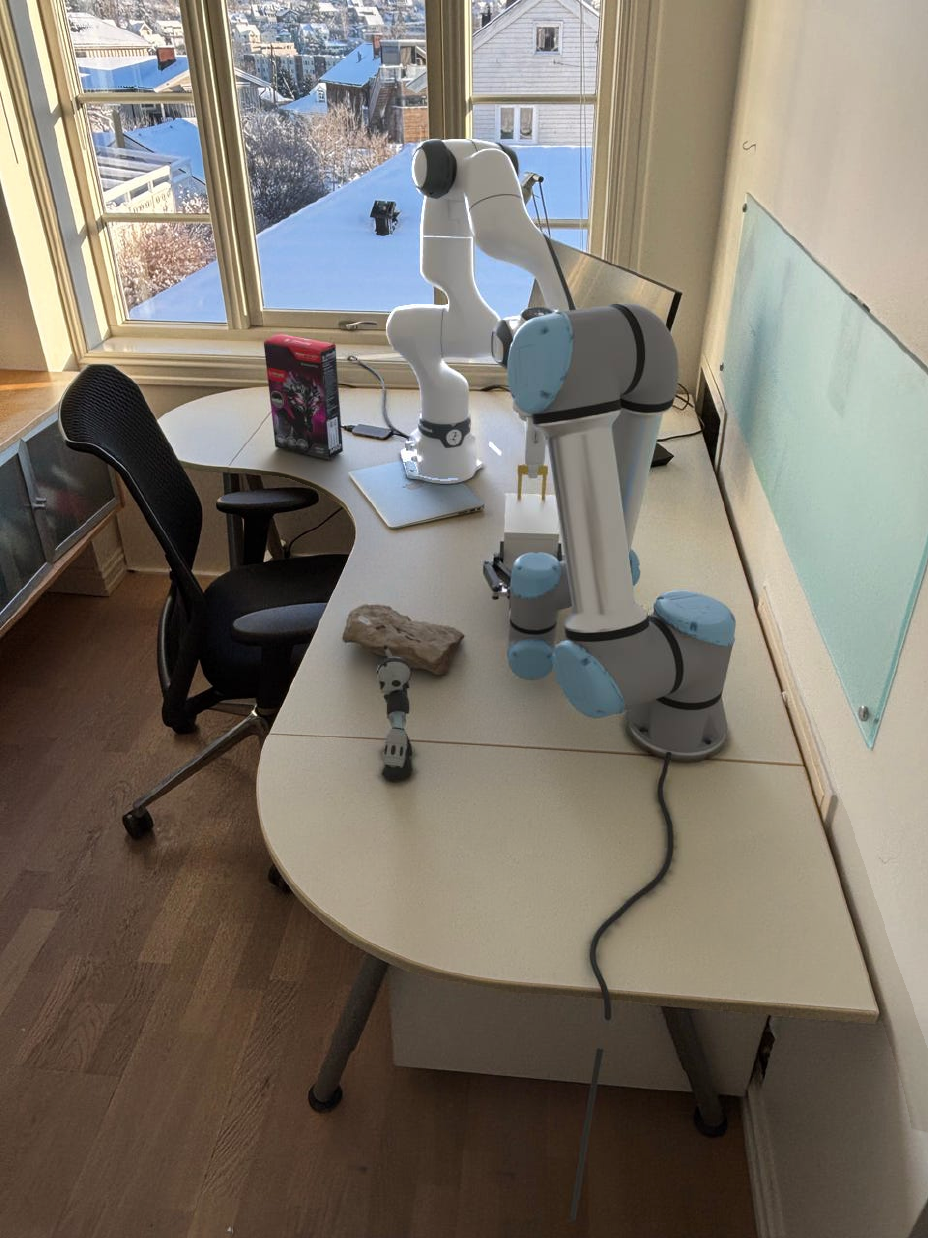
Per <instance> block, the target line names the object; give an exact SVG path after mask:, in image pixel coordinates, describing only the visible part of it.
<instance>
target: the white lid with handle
mask: <svg viewBox="0 0 928 1238" xmlns="http://www.w3.org/2000/svg"><path fill="white" fill-rule="evenodd" d="M528 472H529V466H527V465H526V464H525V463H523V464H521V463H518V464H517V475H518V476H517V492H516V493H514V492H513V493H510V492H506V493H505V504H504V525H503V526H504V529H503V530H504V531H503V539H504V538H514V539H544V540H560V524H559V516H558V509H557V503H556V496H555V494H547V493H546V492H547V491H546V490H547V476H548V472H549V465H548V464H544V465H543V466H539V469H538V476H542V480H541V481H542V482H541V483H542V484H541V493H522V480H523V476H528Z"/></svg>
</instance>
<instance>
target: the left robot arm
mask: <svg viewBox="0 0 928 1238" xmlns="http://www.w3.org/2000/svg"><path fill="white" fill-rule="evenodd" d="M520 169H521V167H520V161H519V157H518V155H517V153H516V151H515V150H514V149H513V147H511V146H509V145H508V144H505V143H501V142H498V141H495V142H490V141H486V140H481V139H474V138H465V139H443V140H442V139H440V138H432V139H428V140H424V141H422V142H420V143H419V145H418V146H417V148H416V149H415V151H414V153H413V157H412V161H411V176H412V181H413V185H414V188H416V191H418V193H419V194H421V195H422V196H424V199H423V204H422V209H421V210H422V212H421V218H420V219H421V220H420V221H421V222H420V251H419V253H420V255H419V259H420V260H419V262H420V264H419V265H420V266H419V267H420V269H419V270H420V274H421V276H422V277H423V279H424V280H425V281H426V282H427V283H428V284H430V285H431V286H433V287H435V288H436V289H438V290H440V291H442V292H443V293H444V294H445V296H446V298H447V302H448V303H447V304H443V305H441V304H439V305H438V304H422V303H421V304H420V303H417V304H409V305H402V306H397V307H395V308H394V309H393V311H391V313H390V314H389V316H388V318H387V321H386V326H385V334H386V338H387V341H388V344H389V345H390V347H391V348H392V349H393V351H395V352H396V353H397V354H398V355H400V357H402V358H403V359H404V361H406V362H407V364H408V365H409V366H410V368H411V369H412V371H413V372H414V375H415V377H416V380H417V384H418V388H419V396H420V397H419V398H420V399H419V400H420V411H419V412H420V414H419V418H418V420H417V428H416V429H414V430H413V431H412V432H411V433H410V434H409V435H407V434H406V433H404V432H402V431H401V430H399V429H397V428H396V427H395V426H394V425H393V424H392V422H391V421H390V419H389V417H388V416H387V412H386V383H385V381H384V379H383V377H382V376H381V374H379V372H377V371H376V369H374V368H372V367H371V366H369V365H368V364H367V363H365V362H363V361H362V360H361V359H359V358H358V357H356V356H355V355H352V354H349V355H348V356H347V357H346V360H350V359H354V360H355V359H359V361H357V362H358V363H359V364H360V365H361V366H363V367H365V368H366V369H368V370H369V371H371V372H373V373H374V375H376V376H377V377H378V379H379V381H380V382H381V385H382V401H381V402H382V403H381V407H382V414H383V417H384V420H385V421H386V423H387V425H388V426H389V428H390V429H391V430H392V431H394V432H396V433H397V434H399V435H400V436H402V437H404V438H406V439H409V441H405V443H404V449H401V450H400V457H401V461H402V464H403V468H404V470H405V474H406V476H407V478H408V479H411V480H420V481H424V482H428V483H433V484H439V485H440V484H441V485H448V484H451V485H452V484H458V483H463V482H465V481H468V480H469V479H472V477H474V476H475V473H476V472H477V471H478V470H480V469H481V468H483V462H482V461H481V460H479V459H478V458H477V439H476V435H475V434H473V432H471V426H472V419H471V414H470V385H469V383H468V381H467V379H466V378H465V377H464V376H463V375H462V374H461V373H460V372H458V371H456V370H455V369H453V368H451V367H449V365H447V363H446V362H445V361H444V358H448V359H467V360H468V359H469V360H473V359H480V358H486V357H487V358H488V357H492V359H493V360H494V361H495V362H496V364H498V365H499V366H500V367H501V368H503V369H505V370H506V371H507V364H508V355H509V350H510V346H511V344H512V342H513V339H514V336H515V334H516V332H517V331H518V330H519V328H520V327H521V326H522V325H523V324H524V323H525V322H527V321H528V320H530V319H532V318H536V317H540V316H544V315H548V314H552V313H553V312H562V311H570V310H578V308H577V306H576V304H575V301H574V299H573V295H572V293H571V291H570V287H569V284H568V282H567V280H566V276H565V274H564V272H563V268H562V266H561V263H560V261H559V257H558V256H557V253H556V250H555V248H554V245H553V244H552V243H553V242H552V241H551V239H550V238H549V236H548V234H547V233H545V232H543V231H542V230H540V229H539V228H538V227H537V226H536V225H535V223H534V222H533V220H532V218H531V217H530V215H529V213H528V211H527V208H526V204H525V200H524V196H523V191H522V188H521V184H520V181H519V180H520V172H521V171H520ZM473 242H474V244H475V245H476V247H477V248H478V249H479V250H480V251H481V252H482V253H483V254H485V255H486V256H488V257H490V258H491V259H494V260H496V261H500V262H503V263H507V264H511V265H512V266H513V265H514V266H516V267H519V268H521V269H523V270H525V271H527V272H528V273H530V275H532V276H533V277H534V278H535V280H536V282H537V283H538V286H539V288H540V289H539V290H540V292H541V295H542V297H543V300H544V303H545V305H546V307H545V306H531V307H527V308H525V309H523V310H522V311H520V313H519V315H516V316H510V317H509V316H508V317H505V318H502V319H501V317H500V316H499V315H498V313H497V312H496V311H495V310H493V309H492V308H491V307H490V305H488V303H487V302H486V301H485V300H484V298H483V296H481V293H480V291H479V289H478V287H477V284H476V280H475V276H474V275H475V274H474V266H473V265H474V263H473V261H474V260H473V245H474V244H473ZM351 357H352V358H351ZM512 410H513V411H514V412H516V414H518V418H519V419H520V420H521V421H523V424H524V464H526V465H527V466H529V472H528V475H527V476H528V478H529V479H537V478H538V477H539V475H538V469H539V466H543V465H545V461H546V448H547V447H546V445H547V443H546V442H547V438H546V436H545V435H544V434H543V433H541V432H540V431H539V430H537V429H536V428H535V427H534V426H533V420H532V414H528V413H525V412H523V411H522V410H520V409H519V408H518V407H517V405H516V404H515V398H513V397H512ZM489 446H490V447H491V448H492V449H493V450H494V451H495V452H496V453H497V454H498V455H499V456H501V455H502V451H501V450H500V449H499V448H497V446H495V444H494V443H493V442H491V441H489ZM407 461H411V462H414V464H415V466H416V469H417V474H418V475H422V476H427V477H431V478H438V479H448V478H458V480H451V481H440V480H432V479H428V478H424V477H420V476H411V475H409V474H408V473H407V470H406V466H405V463H404V462H407ZM409 472H415V470H409Z"/></svg>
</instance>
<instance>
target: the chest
mask: <svg viewBox="0 0 928 1238" xmlns="http://www.w3.org/2000/svg"><path fill="white" fill-rule="evenodd" d="M559 540H560V539H559ZM559 540H544V539H514V538H504V537H503V541H504V558H503V564H504V565H505V566H506V567H507V568H508V569H510V570H511V571H512V570H513V565H514V562H515V561H516V560H517V559H518V558H519V557H520V556H522V555H524V554H527V553H540V552H541V553H547V554H550V555H552V556H554V557H555V558H556V559H557V554H558V543H560V542H559ZM501 583H502V586H503V587H505V588H507V587H508V586H507V585H506V584H505V583H504V582H503V581H502V580H501ZM508 588H509V587H508Z"/></svg>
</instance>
